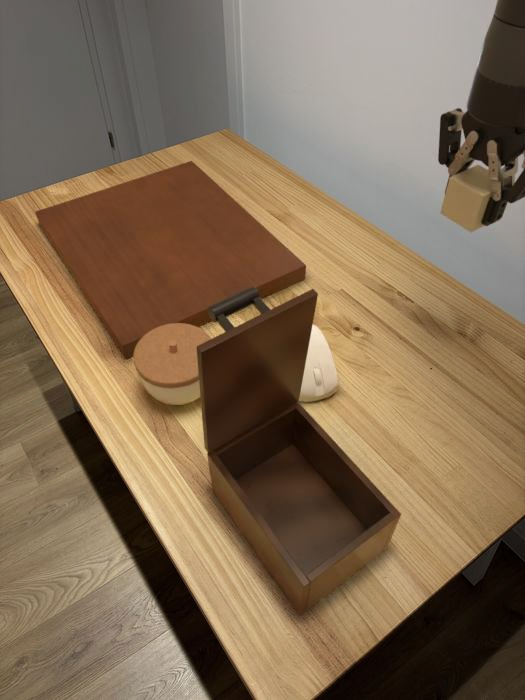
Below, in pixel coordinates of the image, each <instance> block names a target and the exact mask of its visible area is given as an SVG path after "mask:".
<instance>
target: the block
mask: <svg viewBox="0 0 525 700" xmlns="http://www.w3.org/2000/svg"><path fill="white" fill-rule="evenodd" d="M448 179H449V178H448ZM447 182H448V181H447ZM446 186H447V185H446ZM491 188H492V182H491V180H489V169H488V168H485V167H484V166H482V165H480V164H476V165H473V166H472V167H470V168H469V169H467V170H465V171H463V172H460V173H458V174H456V175H454V176H452V177H450V179H449V182H448V186H447V189H446V188H445V190H446V193H445V192H444V197H443V201H442V204H441V208H440V212H439V213H440V214H441V215H442V216H443V217H446V218H447V219H449V220H450V221H452V222H453V223H455V224H456V225H458V226H459V227H461V228H463V229H464V230H466V231H467V232H470V233H473V232H475V231H477V230H479V229H481V228H483V227H486V226H485V225H483V224H482V223H481V221H482V218H483V215H484V212H485V210H486V207H487V204H488V201H489V198H490V197H492V196H491Z"/></svg>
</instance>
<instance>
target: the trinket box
mask: <svg viewBox="0 0 525 700" xmlns="http://www.w3.org/2000/svg"><path fill="white" fill-rule="evenodd" d="M210 339H212V337H211V336H210V334H208V333H207V331H205V330H203V329H202V328H200V327H196V326H193V325H190V324H184V323H172V324H166V325H163V326H160V327H157V328H155V329H153V330H151V331H150V332H148V333H147V334H145V335H144V336H143V337H142V338H141V339H140V341H139V342H138V343H137V345H136V347H135V350H134V355H133V357H132V359H133V364H134V365H133V366H134V368H135V370H136V372H137V375H138V377H139V381H140V383H141V384H142V386H143V387H144V389H145V390H146V391H147V393H148V394H149V395H150V396H152V397H153V398H154V399H155V400H157V401H158V402H160V403H163V404H167V405H170V406H181V405H187V404H189V403H192V402H194V401H196V400H198V399H199V398H201V397H200V384H199V372H198V360H197V348H196V347H197V346H198V345H200V344H202V343H204V342H206V341H208V340H210Z"/></svg>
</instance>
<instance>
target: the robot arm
mask: <svg viewBox="0 0 525 700" xmlns="http://www.w3.org/2000/svg"><path fill="white" fill-rule="evenodd" d="M470 86H471V87H470V90H469V94H468V98H467V101H466V111H465V112H464V111H463V110H462V108H460V107H457V108H455V109H451V110H449V111H446V112H444V113H442V114H441V115H440V119H439V120H440V121H439V134H438V135H439V136H438V140H439V141H438V154H437V155H438V156H437V161H438V163H439V165H441V166H444V165H445V167H446V168H447V172H448V174H449V176H448V178H447V182H446V186H445V190H444V194H445V193H446V189H447V186H448V182H449V179H450V177H452V176H454V175H456V174H458V173H460V172H463V171H465V170H467V169H469V168H471V166H472V165H473V164H474V163H475V161H479V162H481V163H482V164H483V165H485V166H486V167H488V170H489V180H491V182H492V188H491V196H492V197H490V198H489V201H488V204H487V207H486V210H485V212H484V215H483V218H482V221H481V223H482V224H483V225H485V226H484V227H488V226H490V225H492V224H494V223H497V222H499V221H500V220H502V218H503V216H504V213H505V210H506V208H507V205H508V203H509V204H514V203H516V202H518V201H521V200H522V199H524V198H525V0H497V1H496V4H495V8H494V13H493V15H492V18H491V20H490V24H489V26H488V27H487V31H486V33H485V36H484V39H483V42H482V46H481V50H480V54H479V57H478V60H477V64H476V68H475V72H474V75H473V79H472V82H471V85H470ZM462 132H463V136H464V142H463V144H462V145H461V143H462ZM521 155H523V158H524V159H523V162H522V164H521V168H522V169H523V170H522V172H520V174H519V175H518V177H517V179H516V174H517V173H518V170H519V157H520V156H521Z"/></svg>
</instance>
